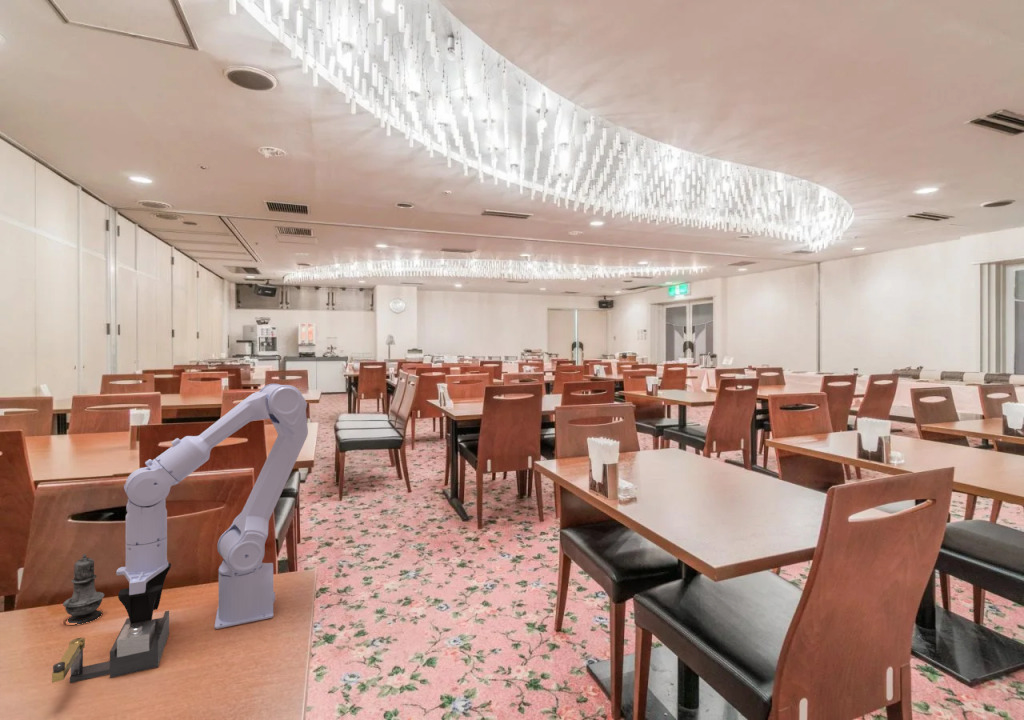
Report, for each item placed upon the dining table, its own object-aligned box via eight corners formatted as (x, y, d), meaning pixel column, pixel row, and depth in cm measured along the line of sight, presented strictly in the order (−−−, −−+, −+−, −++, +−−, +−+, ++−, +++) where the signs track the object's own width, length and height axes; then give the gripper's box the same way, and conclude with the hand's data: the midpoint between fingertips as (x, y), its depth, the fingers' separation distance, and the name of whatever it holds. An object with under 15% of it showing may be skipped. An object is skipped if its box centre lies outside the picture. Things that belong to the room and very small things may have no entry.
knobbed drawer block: (155, 635, 82) (155, 615, 82) (149, 650, 78) (149, 629, 78) (125, 641, 80) (125, 621, 80) (116, 657, 76) (117, 636, 76)
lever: (66, 679, 69) (66, 665, 69) (48, 683, 68) (48, 668, 68) (86, 644, 77) (86, 631, 77) (71, 647, 76) (71, 634, 76)
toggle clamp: (169, 633, 88) (169, 610, 88) (157, 667, 78) (157, 641, 78) (87, 649, 83) (88, 625, 83) (65, 688, 73) (65, 660, 73)
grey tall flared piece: (80, 628, 90) (80, 561, 90) (54, 624, 91) (54, 558, 91) (112, 612, 96) (112, 549, 96) (87, 609, 97) (87, 546, 97)
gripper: (127, 530, 90) (127, 606, 90) (105, 558, 77) (104, 647, 77) (174, 524, 93) (174, 597, 93) (160, 550, 80) (160, 635, 80)
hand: (146, 619), depth 85 cm, fingers open, 7 cm apart
